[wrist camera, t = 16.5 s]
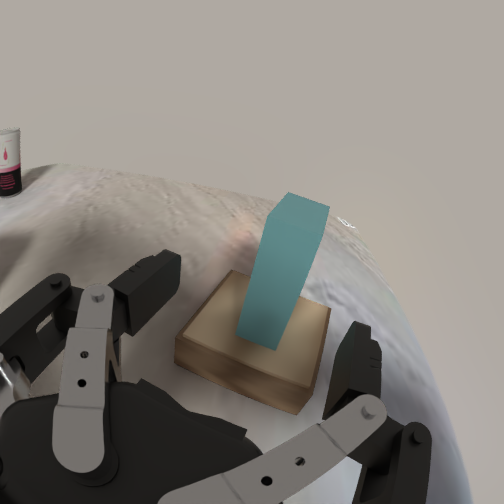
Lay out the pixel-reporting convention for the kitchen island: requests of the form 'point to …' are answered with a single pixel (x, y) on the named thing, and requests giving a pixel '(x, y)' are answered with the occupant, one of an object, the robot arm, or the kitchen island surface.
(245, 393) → the block
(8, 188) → the beverage can
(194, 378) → the kitchen island surface
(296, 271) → the teal rectangular block
